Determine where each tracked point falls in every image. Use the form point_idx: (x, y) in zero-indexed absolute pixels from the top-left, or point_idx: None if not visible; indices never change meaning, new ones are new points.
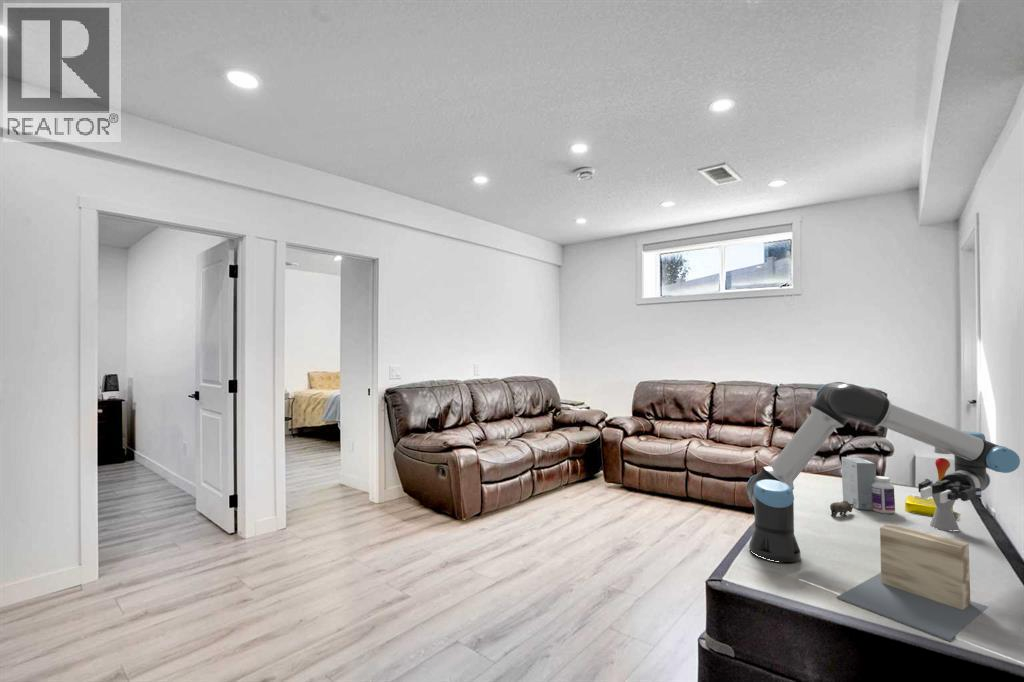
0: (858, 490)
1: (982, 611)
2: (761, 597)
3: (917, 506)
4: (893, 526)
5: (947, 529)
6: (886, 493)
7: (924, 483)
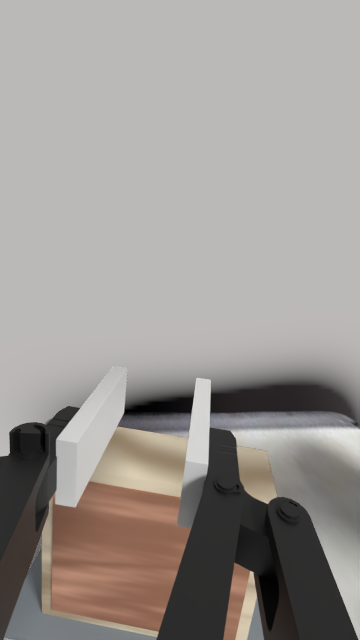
0: None
1: (26, 578)
2: (295, 416)
3: None
4: (251, 481)
5: None
6: None
7: (297, 585)
